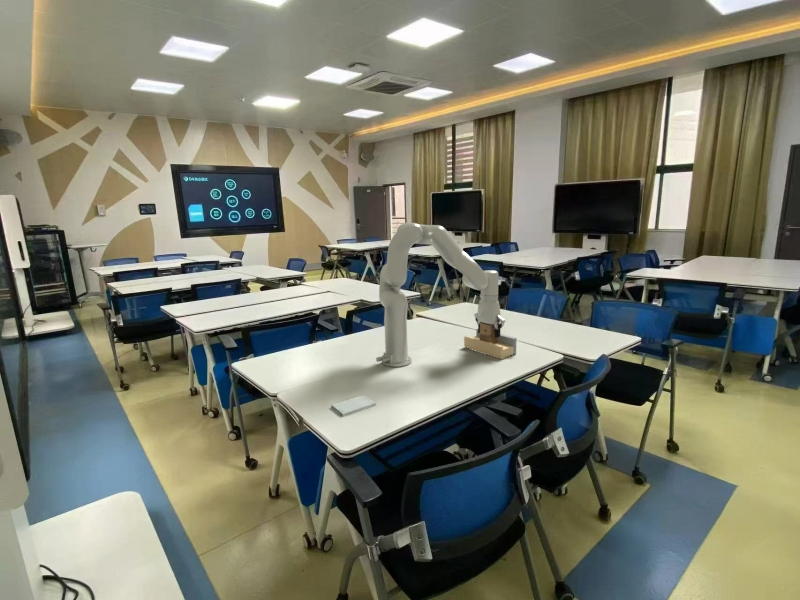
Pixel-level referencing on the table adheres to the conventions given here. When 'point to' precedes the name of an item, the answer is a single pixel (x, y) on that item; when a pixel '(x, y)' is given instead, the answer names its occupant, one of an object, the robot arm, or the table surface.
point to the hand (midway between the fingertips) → (488, 334)
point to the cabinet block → (487, 333)
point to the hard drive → (353, 405)
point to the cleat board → (492, 345)
